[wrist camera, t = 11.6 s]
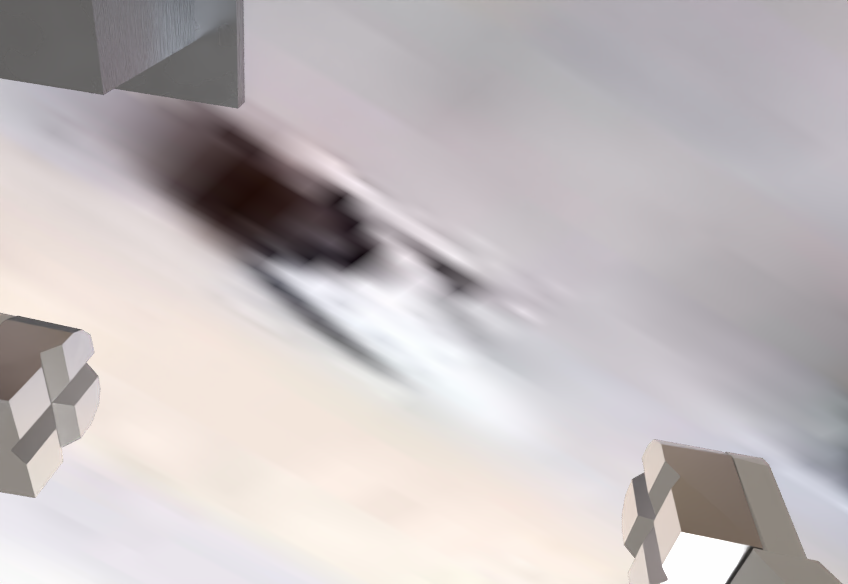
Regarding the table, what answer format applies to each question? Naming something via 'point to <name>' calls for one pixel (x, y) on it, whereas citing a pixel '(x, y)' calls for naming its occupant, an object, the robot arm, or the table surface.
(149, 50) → the grey mallet
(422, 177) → the table surface
